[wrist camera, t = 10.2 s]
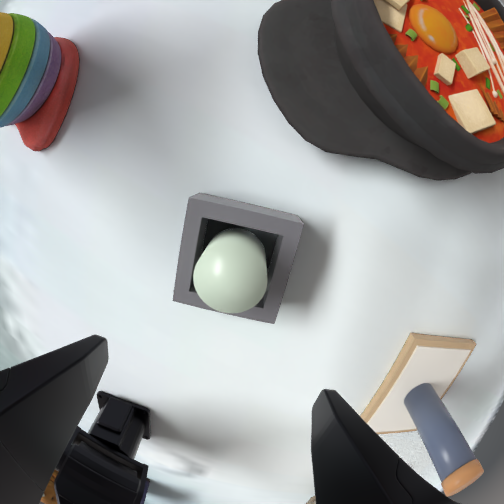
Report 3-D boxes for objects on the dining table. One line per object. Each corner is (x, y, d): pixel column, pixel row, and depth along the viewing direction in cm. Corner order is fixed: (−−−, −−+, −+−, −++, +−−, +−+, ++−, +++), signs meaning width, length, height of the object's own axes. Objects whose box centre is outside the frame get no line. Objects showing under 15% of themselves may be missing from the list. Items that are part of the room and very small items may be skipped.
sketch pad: (413, 425, 27) (416, 431, 26) (350, 428, 26) (353, 436, 25) (471, 339, 23) (477, 344, 22) (410, 332, 22) (415, 339, 21)
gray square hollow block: (272, 303, 22) (274, 323, 19) (183, 283, 21) (172, 300, 18) (297, 215, 19) (304, 224, 17) (199, 192, 19) (189, 197, 16)
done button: (258, 290, 20) (257, 319, 16) (201, 277, 19) (188, 304, 16) (272, 235, 18) (275, 254, 15) (212, 222, 18) (199, 237, 14)
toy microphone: (413, 410, 24) (454, 495, 12) (396, 402, 23) (439, 497, 11) (437, 387, 23) (488, 470, 11) (423, 377, 23) (478, 470, 10)
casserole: (466, -1, 12) (509, -26, 4) (520, 162, 17) (578, 171, 9) (229, -8, 14) (215, -75, 6) (298, 210, 19) (325, 241, 11)
